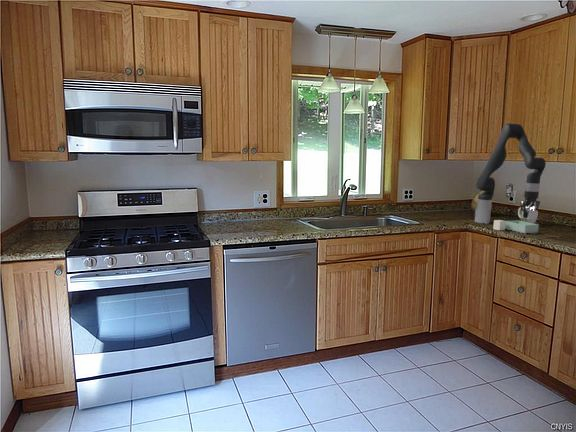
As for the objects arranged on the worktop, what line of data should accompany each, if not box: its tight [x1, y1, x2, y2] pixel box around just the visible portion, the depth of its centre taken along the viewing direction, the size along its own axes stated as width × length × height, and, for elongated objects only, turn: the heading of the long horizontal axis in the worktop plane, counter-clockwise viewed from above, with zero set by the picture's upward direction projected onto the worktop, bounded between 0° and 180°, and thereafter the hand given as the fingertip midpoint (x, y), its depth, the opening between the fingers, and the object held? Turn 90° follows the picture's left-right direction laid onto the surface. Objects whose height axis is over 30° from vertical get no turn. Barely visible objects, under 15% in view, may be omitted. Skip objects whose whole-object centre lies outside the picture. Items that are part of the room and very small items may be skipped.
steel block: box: [522, 210, 536, 219], centre depth 251 cm, size 5×5×5 cm
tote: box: [505, 220, 540, 235], centre depth 267 cm, size 16×12×6 cm
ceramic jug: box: [470, 190, 493, 216], centre depth 332 cm, size 17×15×30 cm
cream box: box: [492, 219, 507, 231], centre depth 271 cm, size 5×5×6 cm
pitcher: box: [517, 205, 541, 224], centre depth 297 cm, size 11×18×14 cm, turn 14°
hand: (528, 217), depth 252 cm, fingers closed on steel block, 5 cm apart
